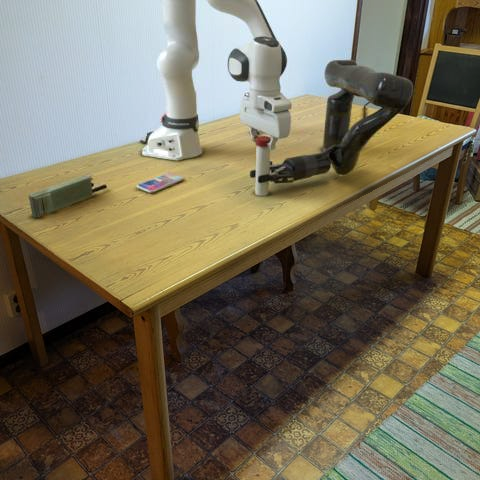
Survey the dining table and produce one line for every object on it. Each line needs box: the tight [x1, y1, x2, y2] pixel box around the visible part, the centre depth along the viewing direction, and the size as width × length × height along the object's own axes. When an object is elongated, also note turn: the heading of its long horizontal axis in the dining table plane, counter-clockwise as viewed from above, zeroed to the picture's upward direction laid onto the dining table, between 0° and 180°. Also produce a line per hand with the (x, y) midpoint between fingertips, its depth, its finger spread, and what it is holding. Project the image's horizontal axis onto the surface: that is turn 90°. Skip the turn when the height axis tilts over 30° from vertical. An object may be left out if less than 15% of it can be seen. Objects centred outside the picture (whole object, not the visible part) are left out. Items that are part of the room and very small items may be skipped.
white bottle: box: [254, 145, 271, 197], centre depth 155 cm, size 4×4×17 cm
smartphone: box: [136, 172, 184, 194], centre depth 164 cm, size 7×1×15 cm
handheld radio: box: [28, 173, 108, 219], centre depth 150 cm, size 7×3×25 cm
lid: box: [255, 135, 271, 147], centre depth 151 cm, size 5×5×2 cm
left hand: (262, 145), depth 151 cm, fingers open, 7 cm apart
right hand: (254, 177), depth 155 cm, fingers closed on white bottle, 4 cm apart
